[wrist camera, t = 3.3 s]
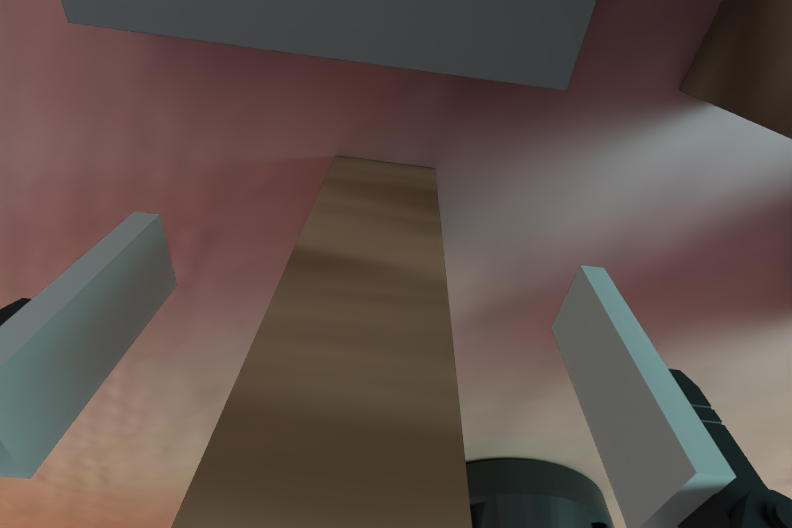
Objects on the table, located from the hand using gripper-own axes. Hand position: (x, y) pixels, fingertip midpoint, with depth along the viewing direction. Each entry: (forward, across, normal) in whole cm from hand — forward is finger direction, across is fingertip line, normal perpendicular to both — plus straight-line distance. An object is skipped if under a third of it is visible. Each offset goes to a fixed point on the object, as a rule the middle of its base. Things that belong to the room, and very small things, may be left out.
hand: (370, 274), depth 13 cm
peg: (+5, 0, 0) cm, 5 cm away
